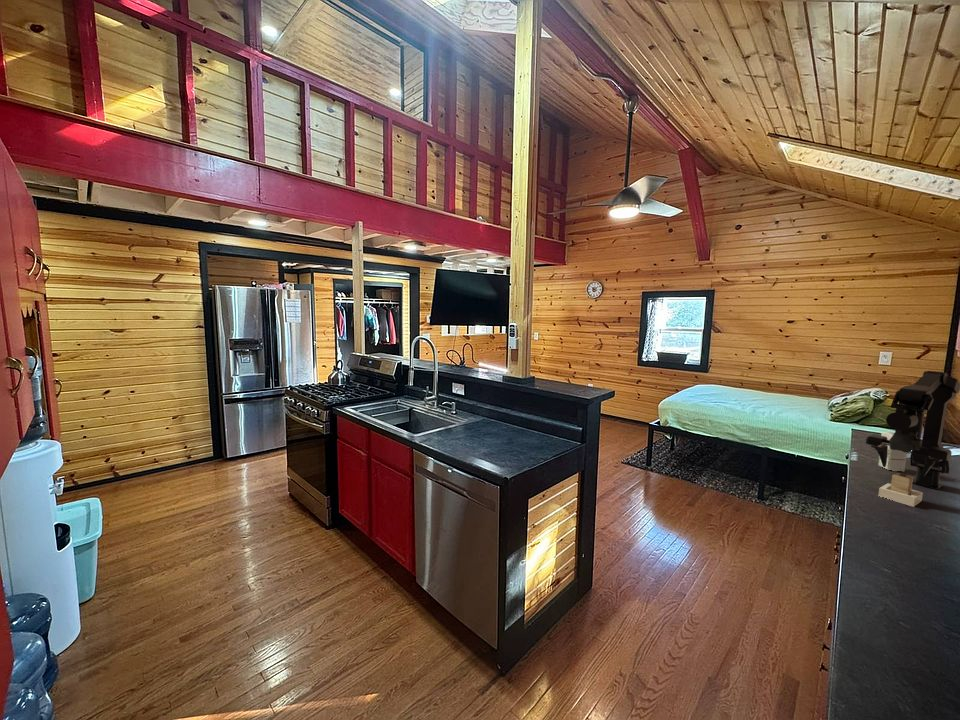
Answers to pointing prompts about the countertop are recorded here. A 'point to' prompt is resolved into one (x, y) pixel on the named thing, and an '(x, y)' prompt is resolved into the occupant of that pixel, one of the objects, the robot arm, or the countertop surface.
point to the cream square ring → (900, 495)
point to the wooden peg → (902, 483)
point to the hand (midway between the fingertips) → (903, 471)
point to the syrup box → (893, 457)
